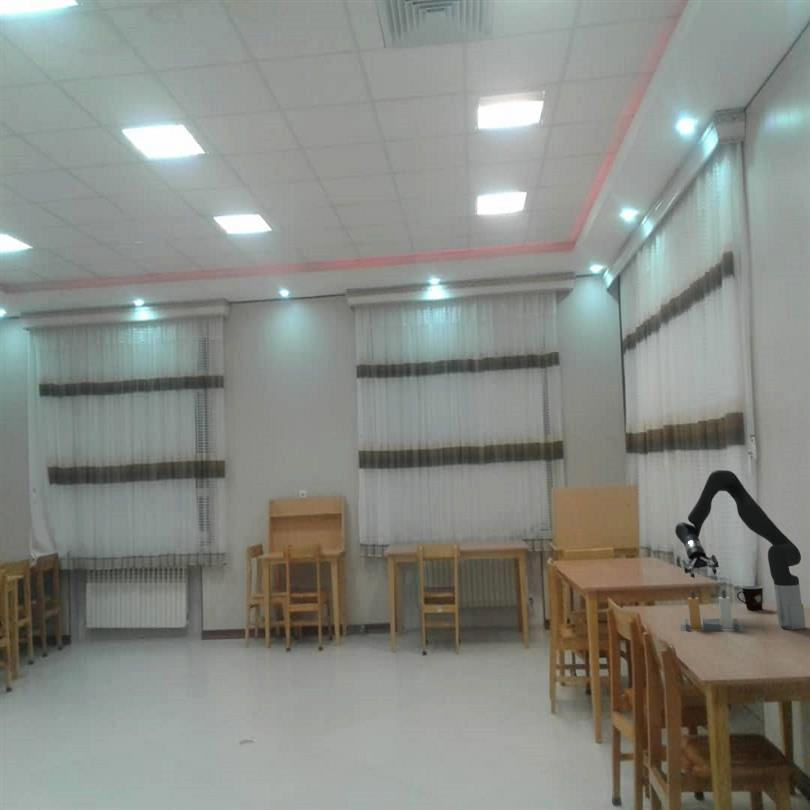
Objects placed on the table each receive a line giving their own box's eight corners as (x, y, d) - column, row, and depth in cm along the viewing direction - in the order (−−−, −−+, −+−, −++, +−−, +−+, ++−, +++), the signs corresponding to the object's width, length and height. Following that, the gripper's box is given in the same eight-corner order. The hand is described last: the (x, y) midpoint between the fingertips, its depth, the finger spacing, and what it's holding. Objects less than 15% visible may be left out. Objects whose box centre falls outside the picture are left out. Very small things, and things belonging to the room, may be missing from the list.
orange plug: (701, 626, 313) (697, 590, 315) (701, 628, 310) (697, 591, 311) (690, 626, 315) (687, 590, 316) (691, 628, 311) (687, 591, 312)
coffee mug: (762, 607, 348) (760, 585, 349) (767, 611, 340) (764, 588, 341) (735, 608, 351) (733, 586, 352) (739, 611, 343) (736, 589, 344)
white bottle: (732, 626, 309) (728, 589, 311) (733, 628, 306) (728, 591, 307) (721, 626, 311) (717, 589, 312) (722, 628, 307) (718, 591, 308)
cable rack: (742, 627, 312) (741, 618, 312) (745, 633, 301) (744, 624, 301) (680, 627, 320) (680, 618, 320) (681, 633, 308) (680, 624, 309)
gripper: (677, 548, 338) (685, 570, 323) (710, 542, 335) (720, 564, 320) (680, 562, 341) (688, 584, 326) (713, 555, 337) (723, 578, 323)
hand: (704, 574), depth 323 cm, fingers open, 8 cm apart
